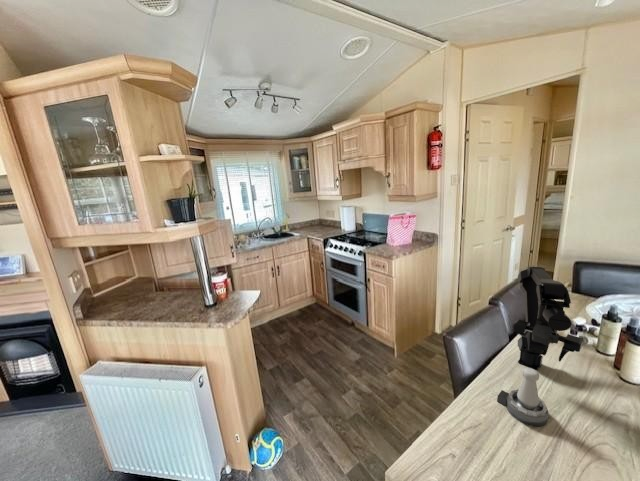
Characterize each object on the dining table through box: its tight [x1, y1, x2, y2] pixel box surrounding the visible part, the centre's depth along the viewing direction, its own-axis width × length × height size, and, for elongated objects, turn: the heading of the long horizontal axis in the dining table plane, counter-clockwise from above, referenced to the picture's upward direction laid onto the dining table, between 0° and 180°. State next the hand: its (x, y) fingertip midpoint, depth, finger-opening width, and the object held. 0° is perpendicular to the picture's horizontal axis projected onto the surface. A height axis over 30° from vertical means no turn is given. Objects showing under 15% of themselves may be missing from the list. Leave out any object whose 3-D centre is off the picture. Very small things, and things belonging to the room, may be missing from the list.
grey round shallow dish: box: [496, 389, 549, 428], centre depth 90 cm, size 13×11×4 cm
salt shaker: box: [517, 367, 540, 409], centre depth 87 cm, size 6×6×13 cm
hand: (543, 355), depth 97 cm, fingers open, 9 cm apart
